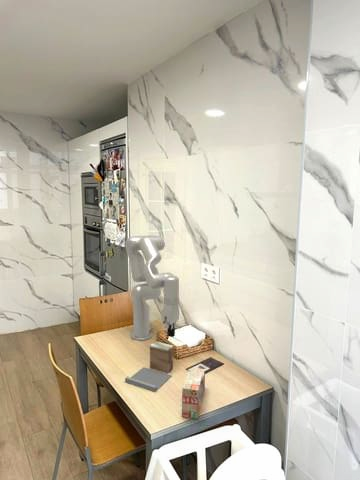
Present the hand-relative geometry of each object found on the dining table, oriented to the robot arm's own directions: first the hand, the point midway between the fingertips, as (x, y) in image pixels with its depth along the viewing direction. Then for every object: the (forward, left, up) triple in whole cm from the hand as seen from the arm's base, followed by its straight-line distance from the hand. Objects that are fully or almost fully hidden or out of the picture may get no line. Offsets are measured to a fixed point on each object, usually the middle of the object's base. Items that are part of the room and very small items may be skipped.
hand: (171, 335), depth 174 cm
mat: (+19, 0, -14) cm, 23 cm away
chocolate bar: (-3, +18, -14) cm, 23 cm away
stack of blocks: (+25, +25, -14) cm, 38 cm away
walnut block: (+9, 0, -14) cm, 16 cm away
